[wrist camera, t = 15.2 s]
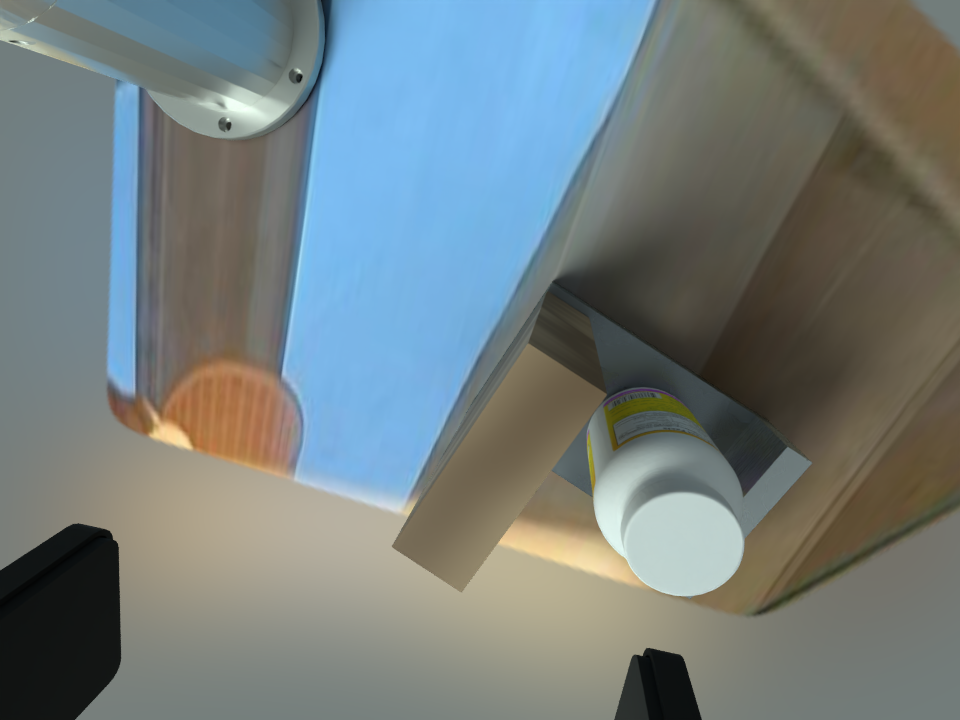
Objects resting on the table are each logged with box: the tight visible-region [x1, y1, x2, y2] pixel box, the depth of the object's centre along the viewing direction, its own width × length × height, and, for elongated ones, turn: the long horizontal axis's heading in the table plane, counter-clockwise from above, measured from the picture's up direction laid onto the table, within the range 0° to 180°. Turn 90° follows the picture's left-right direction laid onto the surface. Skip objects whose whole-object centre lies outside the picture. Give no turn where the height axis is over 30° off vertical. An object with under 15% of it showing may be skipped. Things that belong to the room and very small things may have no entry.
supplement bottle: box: [587, 387, 744, 596], centre depth 29 cm, size 7×7×13 cm
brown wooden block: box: [392, 291, 607, 592], centre depth 27 cm, size 3×9×16 cm, turn 148°
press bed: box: [465, 281, 812, 599], centre depth 33 cm, size 16×10×6 cm, turn 58°
